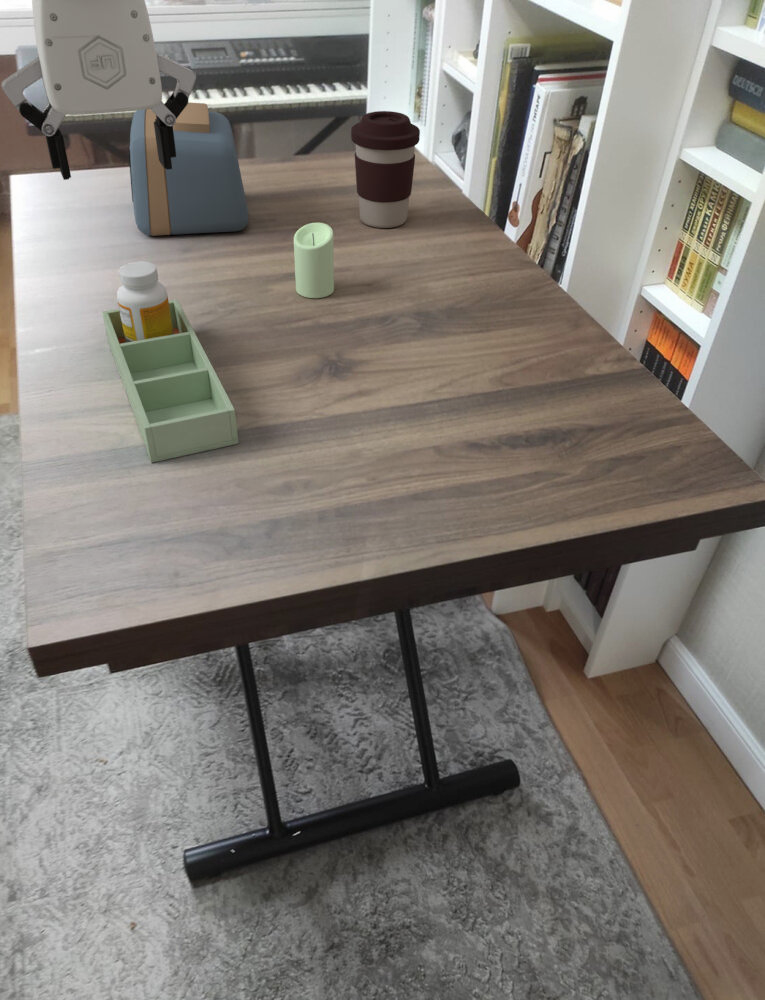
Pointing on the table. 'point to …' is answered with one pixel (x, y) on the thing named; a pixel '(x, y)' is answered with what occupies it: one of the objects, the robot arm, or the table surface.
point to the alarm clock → (187, 176)
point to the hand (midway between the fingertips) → (116, 170)
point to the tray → (172, 389)
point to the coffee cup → (384, 166)
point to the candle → (314, 260)
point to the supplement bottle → (143, 303)
